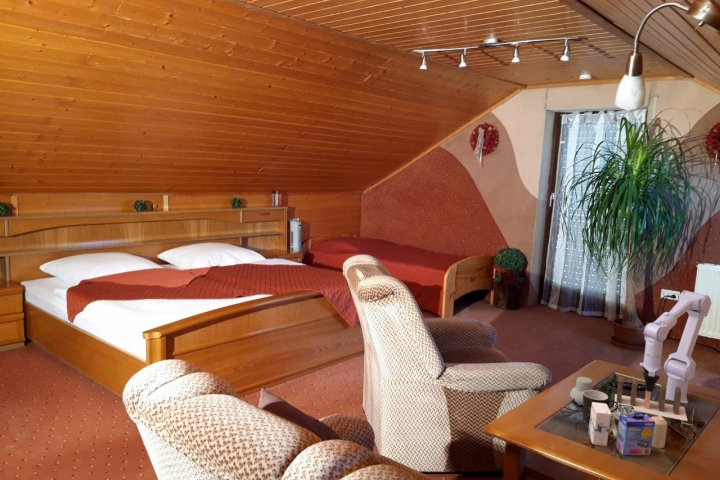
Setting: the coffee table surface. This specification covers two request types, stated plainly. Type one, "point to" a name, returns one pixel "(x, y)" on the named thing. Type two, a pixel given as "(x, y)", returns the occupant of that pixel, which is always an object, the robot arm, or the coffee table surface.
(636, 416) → the ink cartridge box
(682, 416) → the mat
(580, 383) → the air freshener
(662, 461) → the coffee table surface
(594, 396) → the coffee mug
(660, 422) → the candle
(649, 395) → the tile
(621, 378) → the tile
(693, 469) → the coffee table surface
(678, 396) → the tile
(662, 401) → the tile
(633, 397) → the tile
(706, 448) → the coffee table surface
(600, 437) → the ink box
